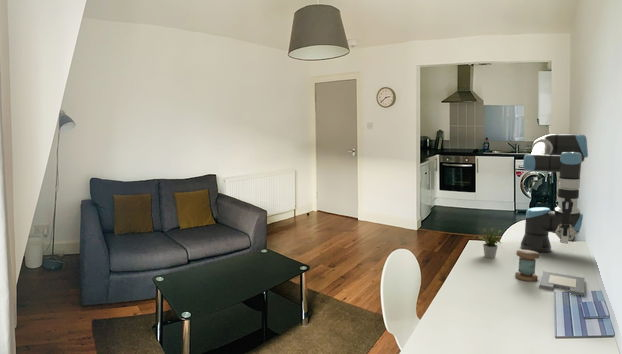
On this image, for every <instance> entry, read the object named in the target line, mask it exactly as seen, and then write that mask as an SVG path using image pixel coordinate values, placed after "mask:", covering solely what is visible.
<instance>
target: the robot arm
mask: <svg viewBox="0 0 622 354" xmlns="http://www.w3.org/2000/svg"><path fill="white" fill-rule="evenodd" d="M587 139H588V138H587V136H586V135H584V134H577V133H576V134H575V133H574V134H573V133H572V134H571V133H568V134H563V133H562V134H558V133H557V134H556V133H555V134H547V135H544V136H542V137H539V138H537V139H536V140H534V142H533V143H532V145H531V151H532V152H531V154H524V157H523V165H522V166H523V170H524V171H529V172H547V173H548V172H550V173H551V172H552V173H559V176H558V178H559V179H557V181H556V182H557V183H558V187H559V188H558V189H557V197H558V203H557V205H558V206H556V207H554V211H553V210H551V208H550V207H544V206H543V207H542V206H541V207H538V206H537V207H531V208H528V209H527V210H526V212H525V213H526V214H525V225H524V228H525V229H524V235H523V237H522V239H521V241H520V248H521V250H531V251H535V252H538V253H549V251H550V252H551V250H552V245H551V241H550V238H549V233H552V232H555V231H556V229H557V227H558V225H559V224H558V222H559V223H560V224H562V226H560V228H562V230H561V242H560V243H561V244H565V245H566V244H568V245H569V241H568V239H569V224H570V223H571V225H572V227H573V228H574V229H575V230H576V231H579V232H577V233H576V234H575V236H577V235H578V234H579V233H580V230H581V229H582V224H583V219H584V216H583V215H584V214H583V213H581V210H580V209H579V208H578V199H579V198H580V197H579V193H580V191H579V189H580V186H581V185H580V184H581V169H582V163H583V162H585V158H586V159H587V158H588V157H589V154H588V153H589V151H588V140H587ZM564 224H566V225H564Z"/></svg>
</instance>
